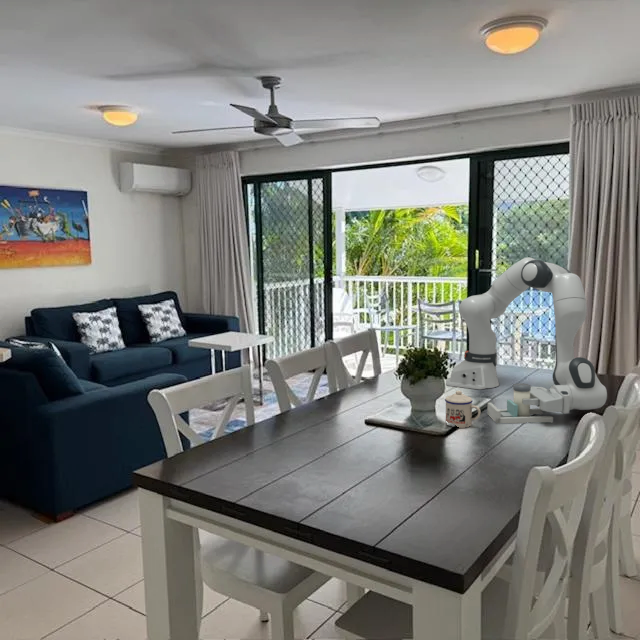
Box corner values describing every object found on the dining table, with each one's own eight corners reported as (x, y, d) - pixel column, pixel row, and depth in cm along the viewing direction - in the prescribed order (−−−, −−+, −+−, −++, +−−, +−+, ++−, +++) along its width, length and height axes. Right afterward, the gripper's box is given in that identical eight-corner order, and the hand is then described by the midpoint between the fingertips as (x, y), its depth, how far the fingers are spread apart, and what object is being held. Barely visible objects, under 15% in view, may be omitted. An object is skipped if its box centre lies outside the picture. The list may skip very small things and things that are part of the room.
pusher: (510, 414, 215) (510, 399, 215) (517, 420, 208) (517, 405, 207) (497, 415, 215) (498, 399, 215) (504, 421, 208) (504, 405, 207)
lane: (540, 413, 217) (541, 401, 217) (552, 422, 207) (553, 409, 206) (487, 414, 217) (487, 402, 217) (497, 423, 206) (497, 411, 206)
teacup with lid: (441, 426, 205) (441, 392, 203) (450, 419, 213) (450, 386, 211) (475, 431, 199) (476, 396, 197) (484, 424, 206) (484, 390, 205)
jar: (512, 417, 210) (512, 386, 209) (513, 413, 216) (513, 382, 214) (529, 419, 208) (530, 387, 207) (530, 414, 213) (531, 383, 212)
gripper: (547, 381, 221) (509, 382, 221) (571, 396, 201) (529, 397, 201) (546, 398, 222) (509, 399, 222) (570, 414, 202) (529, 416, 201)
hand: (519, 398), depth 211 cm, fingers closed on jar, 5 cm apart
